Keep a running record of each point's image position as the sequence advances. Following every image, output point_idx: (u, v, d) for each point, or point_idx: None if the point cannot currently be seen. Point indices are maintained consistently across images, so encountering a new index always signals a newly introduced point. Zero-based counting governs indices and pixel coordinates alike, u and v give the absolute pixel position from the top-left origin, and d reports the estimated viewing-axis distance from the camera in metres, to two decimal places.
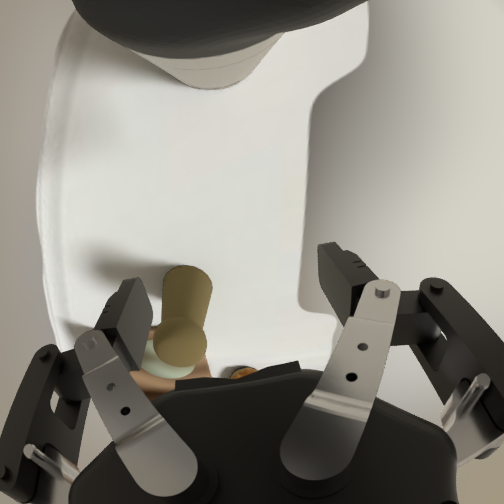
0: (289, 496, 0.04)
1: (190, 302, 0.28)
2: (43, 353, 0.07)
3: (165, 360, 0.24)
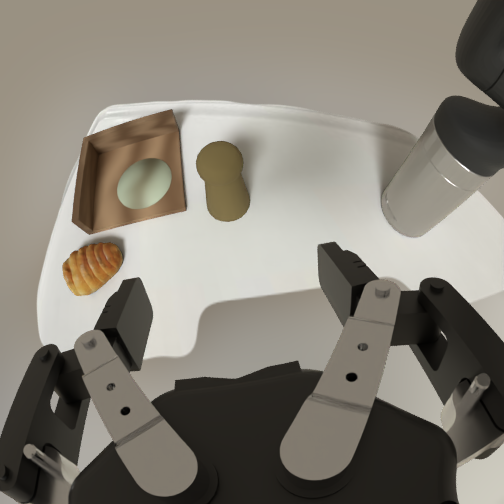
0: (289, 496, 0.04)
1: (240, 185, 0.34)
2: (43, 353, 0.07)
3: (210, 146, 0.29)
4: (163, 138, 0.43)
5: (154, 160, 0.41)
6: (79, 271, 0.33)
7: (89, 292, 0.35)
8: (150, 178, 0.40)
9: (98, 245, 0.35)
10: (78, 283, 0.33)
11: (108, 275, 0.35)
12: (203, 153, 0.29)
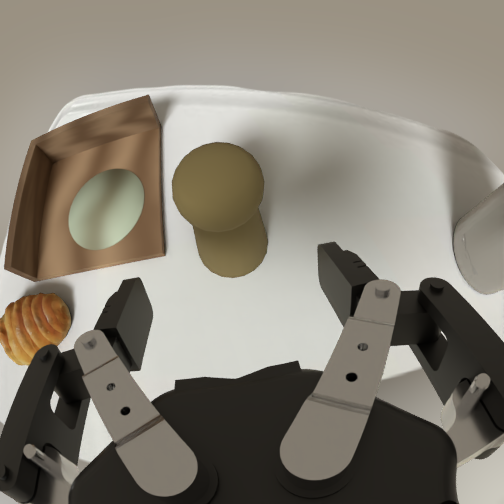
0: (289, 496, 0.04)
1: (256, 224, 0.19)
2: (43, 353, 0.07)
3: (199, 152, 0.15)
4: (137, 138, 0.28)
5: (121, 172, 0.26)
6: (15, 336, 0.19)
7: None
8: (113, 200, 0.25)
9: (36, 298, 0.21)
10: (17, 351, 0.19)
11: (53, 342, 0.21)
12: (185, 167, 0.15)
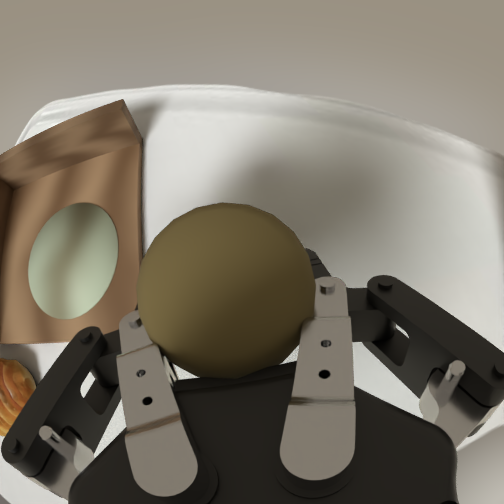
0: (302, 501, 0.03)
1: None
2: (85, 334, 0.08)
3: (185, 230, 0.07)
4: (110, 159, 0.20)
5: (89, 208, 0.19)
6: None
7: None
8: (79, 250, 0.18)
9: None
10: None
11: None
12: (157, 266, 0.07)
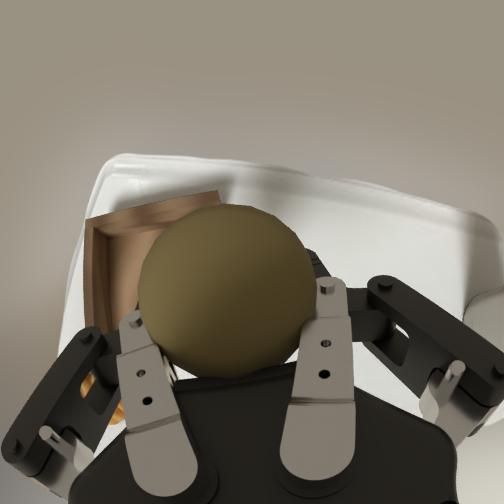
0: (302, 501, 0.03)
1: None
2: (84, 334, 0.08)
3: (187, 231, 0.07)
4: None
5: None
6: None
7: (116, 423, 0.25)
8: None
9: None
10: None
11: None
12: (159, 267, 0.07)
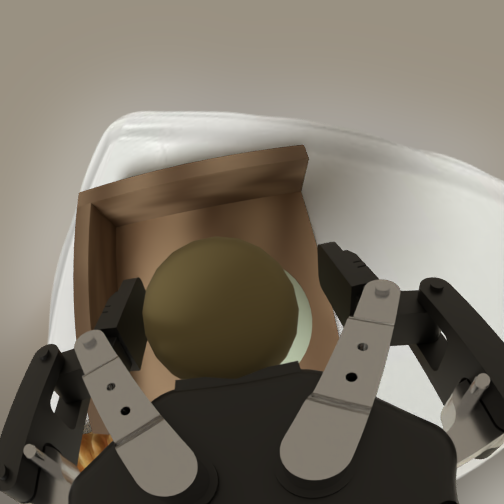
0: (289, 496, 0.04)
1: None
2: (43, 353, 0.07)
3: (183, 265, 0.08)
4: (270, 205, 0.21)
5: None
6: None
7: None
8: None
9: None
10: None
11: None
12: (161, 296, 0.08)
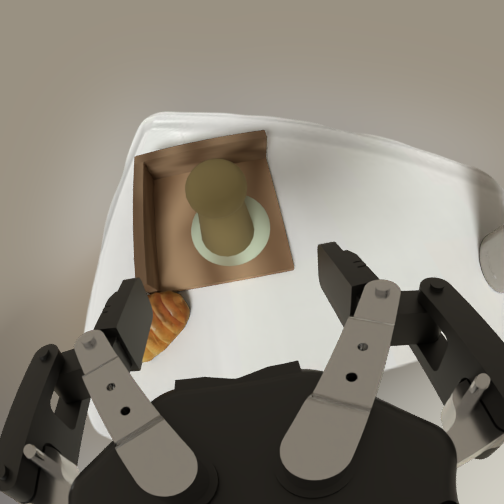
0: (289, 496, 0.04)
1: (243, 214, 0.27)
2: (43, 352, 0.07)
3: (203, 165, 0.22)
4: (247, 166, 0.35)
5: None
6: None
7: (151, 358, 0.27)
8: None
9: (154, 296, 0.28)
10: None
11: (176, 334, 0.28)
12: (194, 176, 0.22)
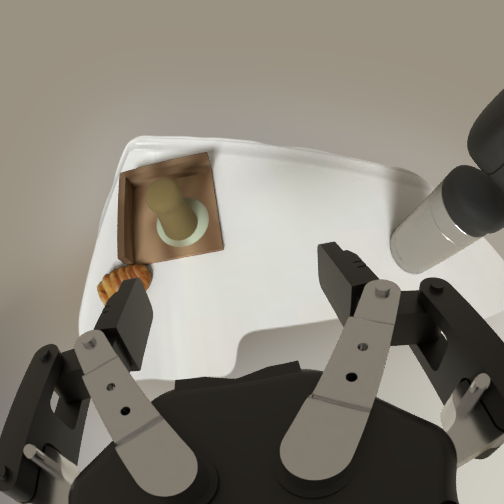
0: (289, 496, 0.04)
1: (184, 212, 0.41)
2: (43, 352, 0.07)
3: (155, 182, 0.36)
4: (197, 177, 0.49)
5: (190, 200, 0.48)
6: (115, 291, 0.40)
7: None
8: None
9: (128, 267, 0.42)
10: None
11: None
12: (150, 189, 0.36)
